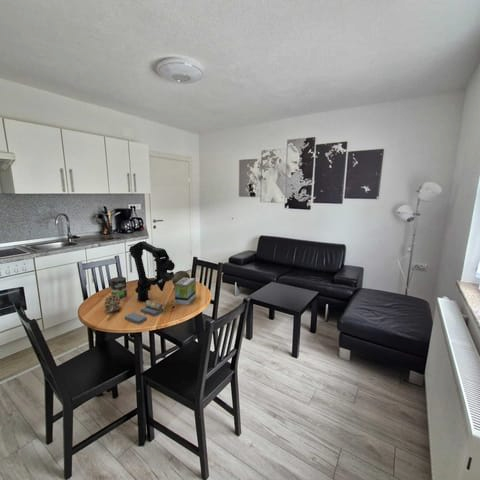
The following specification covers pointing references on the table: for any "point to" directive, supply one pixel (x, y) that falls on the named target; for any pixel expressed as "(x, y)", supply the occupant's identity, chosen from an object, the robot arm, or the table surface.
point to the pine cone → (112, 303)
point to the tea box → (185, 291)
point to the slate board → (139, 318)
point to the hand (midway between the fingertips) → (161, 290)
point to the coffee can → (119, 287)
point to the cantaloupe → (180, 276)
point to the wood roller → (153, 305)
